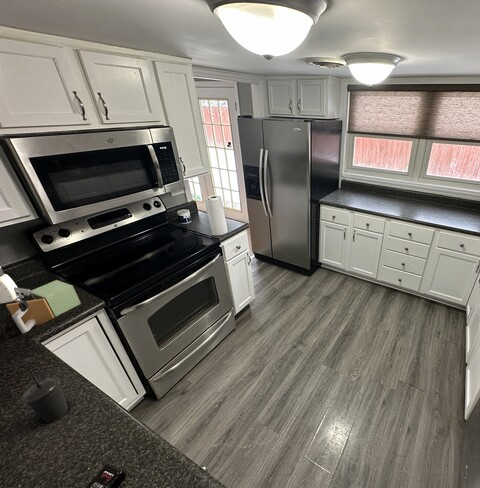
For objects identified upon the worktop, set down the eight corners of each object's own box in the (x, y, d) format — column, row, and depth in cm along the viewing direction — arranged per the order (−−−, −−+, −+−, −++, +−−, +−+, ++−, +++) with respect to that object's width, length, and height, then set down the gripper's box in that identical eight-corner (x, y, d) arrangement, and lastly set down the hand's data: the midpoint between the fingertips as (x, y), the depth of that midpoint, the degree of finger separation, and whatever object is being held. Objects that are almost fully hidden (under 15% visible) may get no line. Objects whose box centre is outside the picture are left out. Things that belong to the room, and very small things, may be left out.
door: (47, 333, 112) (34, 309, 107) (10, 340, 108) (-6, 316, 103) (56, 321, 119) (44, 298, 113) (21, 327, 114) (7, 304, 109)
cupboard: (57, 321, 119) (45, 297, 113) (41, 314, 123) (29, 291, 117) (82, 307, 127) (72, 285, 122) (67, 301, 131) (56, 279, 125)
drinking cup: (73, 424, 80) (44, 377, 72) (39, 438, 76) (4, 390, 68) (79, 403, 86) (53, 358, 78) (48, 415, 82) (17, 369, 74)
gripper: (-55, 285, 90) (-30, 324, 97) (14, 275, 97) (33, 313, 104) (-40, 274, 96) (-16, 312, 103) (25, 266, 103) (42, 302, 110)
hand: (8, 312), depth 103 cm, fingers open, 9 cm apart
